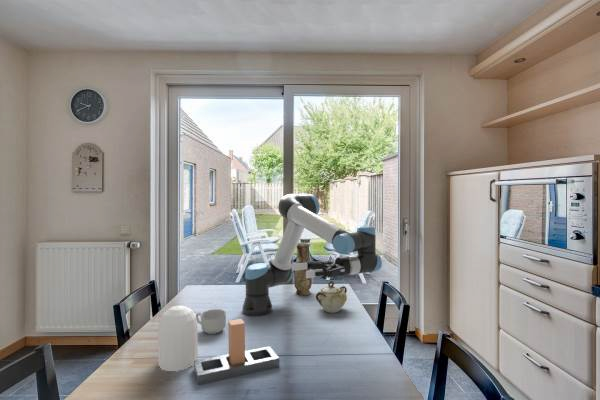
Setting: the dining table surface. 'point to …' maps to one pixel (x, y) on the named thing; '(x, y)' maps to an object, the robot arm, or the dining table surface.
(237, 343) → the post
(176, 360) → the container
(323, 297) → the sugar bowl
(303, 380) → the dining table surface
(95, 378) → the dining table surface
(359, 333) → the dining table surface
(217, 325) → the teacup
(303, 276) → the vase
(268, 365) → the rail
